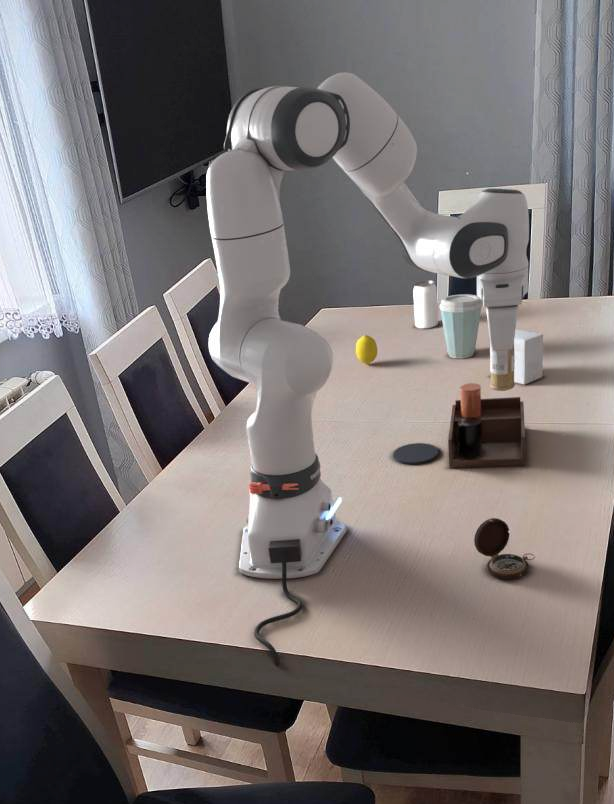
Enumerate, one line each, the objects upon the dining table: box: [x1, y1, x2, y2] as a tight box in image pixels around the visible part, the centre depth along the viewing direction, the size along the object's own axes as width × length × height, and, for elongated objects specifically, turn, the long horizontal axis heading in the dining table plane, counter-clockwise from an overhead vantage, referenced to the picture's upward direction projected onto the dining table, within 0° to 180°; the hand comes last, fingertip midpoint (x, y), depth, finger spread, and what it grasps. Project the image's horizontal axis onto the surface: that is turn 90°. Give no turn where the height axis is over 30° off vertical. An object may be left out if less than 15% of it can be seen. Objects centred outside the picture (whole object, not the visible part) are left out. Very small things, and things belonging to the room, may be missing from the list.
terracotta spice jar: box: [459, 382, 482, 418], centre depth 176 cm, size 4×4×6 cm
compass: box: [473, 517, 536, 580], centre depth 135 cm, size 8×8×7 cm
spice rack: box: [447, 396, 526, 469], centre depth 173 cm, size 18×14×7 cm
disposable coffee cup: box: [438, 293, 483, 360], centre depth 219 cm, size 11×11×15 cm
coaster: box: [392, 442, 439, 465], centre depth 176 cm, size 9×9×1 cm
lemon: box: [355, 334, 378, 366], centre depth 226 cm, size 6×6×8 cm
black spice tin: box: [458, 417, 483, 459], centre depth 171 cm, size 4×4×7 cm
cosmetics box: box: [514, 328, 544, 385], centre depth 202 cm, size 10×6×10 cm, turn 34°
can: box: [412, 280, 439, 330], centre depth 246 cm, size 6×6×12 cm
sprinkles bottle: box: [489, 343, 516, 392], centre depth 161 cm, size 5×5×14 cm
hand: (502, 358), depth 162 cm, fingers closed on sprinkles bottle, 4 cm apart
